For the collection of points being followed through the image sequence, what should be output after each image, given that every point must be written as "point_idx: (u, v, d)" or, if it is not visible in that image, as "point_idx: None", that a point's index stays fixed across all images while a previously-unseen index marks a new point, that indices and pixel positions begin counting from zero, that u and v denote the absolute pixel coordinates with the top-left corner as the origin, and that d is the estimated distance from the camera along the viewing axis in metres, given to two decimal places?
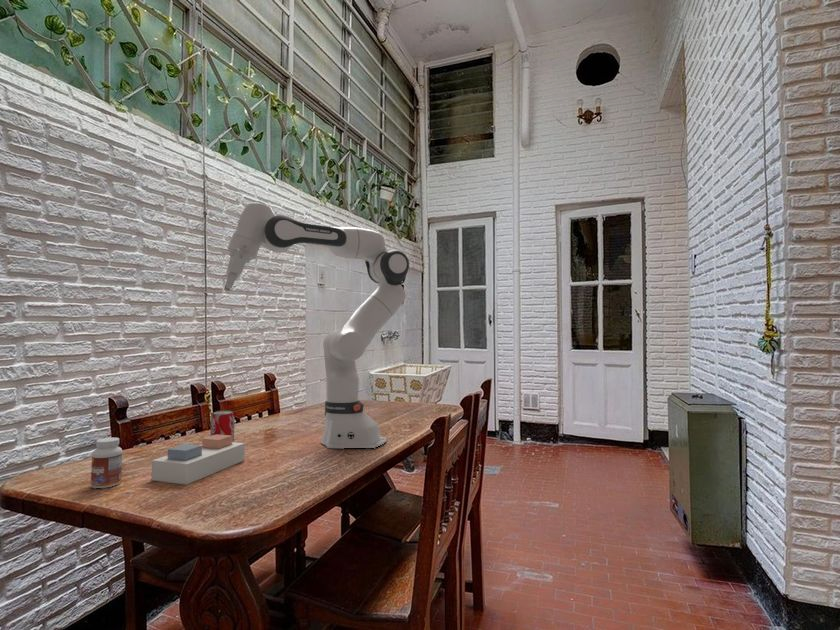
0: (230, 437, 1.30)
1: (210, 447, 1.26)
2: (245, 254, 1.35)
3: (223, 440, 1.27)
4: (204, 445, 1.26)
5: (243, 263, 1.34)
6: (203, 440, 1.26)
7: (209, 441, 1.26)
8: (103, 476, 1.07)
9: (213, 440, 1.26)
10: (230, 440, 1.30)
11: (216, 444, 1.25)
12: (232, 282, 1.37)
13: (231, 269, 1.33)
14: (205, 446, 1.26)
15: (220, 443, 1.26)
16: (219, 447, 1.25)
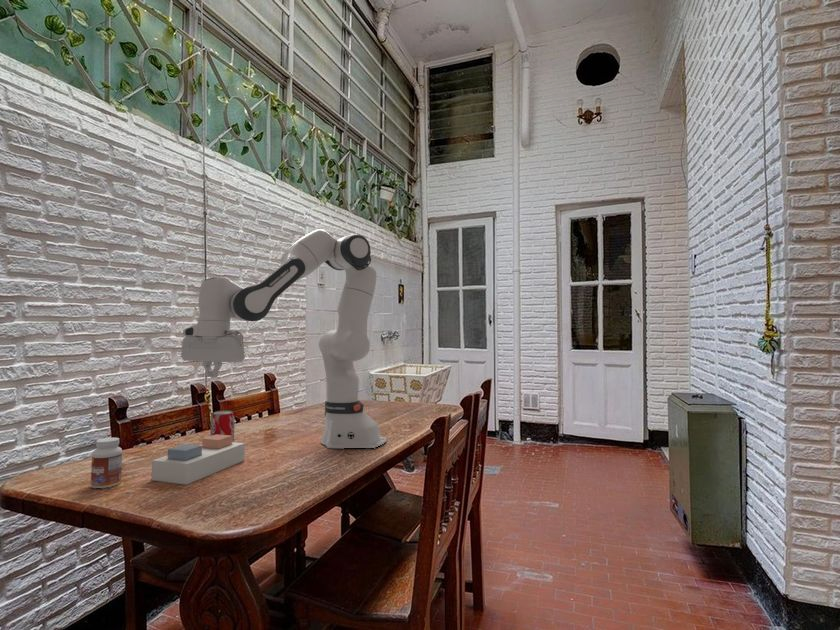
0: (230, 437, 1.30)
1: (210, 447, 1.26)
2: None
3: (223, 440, 1.27)
4: (204, 445, 1.26)
5: (243, 350, 1.32)
6: (203, 440, 1.26)
7: (209, 441, 1.26)
8: (103, 476, 1.07)
9: (213, 440, 1.26)
10: (230, 440, 1.30)
11: (216, 444, 1.25)
12: (218, 370, 1.33)
13: (237, 361, 1.29)
14: (205, 446, 1.26)
15: (220, 443, 1.26)
16: (219, 447, 1.25)
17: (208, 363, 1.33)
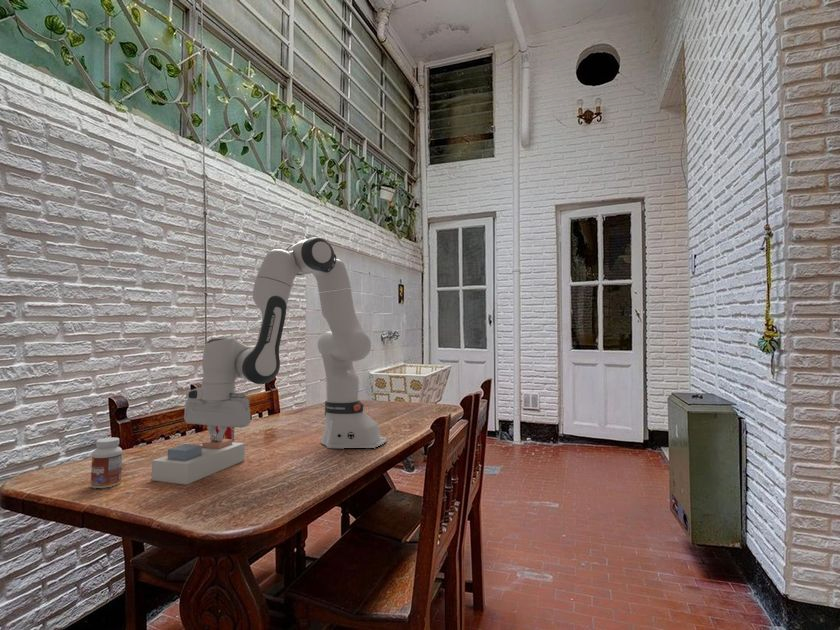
0: (230, 441, 1.30)
1: None
2: None
3: (223, 444, 1.27)
4: None
5: (249, 414, 1.27)
6: (203, 444, 1.26)
7: (209, 445, 1.26)
8: (103, 476, 1.07)
9: (212, 444, 1.26)
10: (230, 444, 1.30)
11: (216, 448, 1.25)
12: (222, 434, 1.28)
13: (243, 426, 1.25)
14: None
15: (220, 447, 1.26)
16: None
17: (212, 426, 1.28)
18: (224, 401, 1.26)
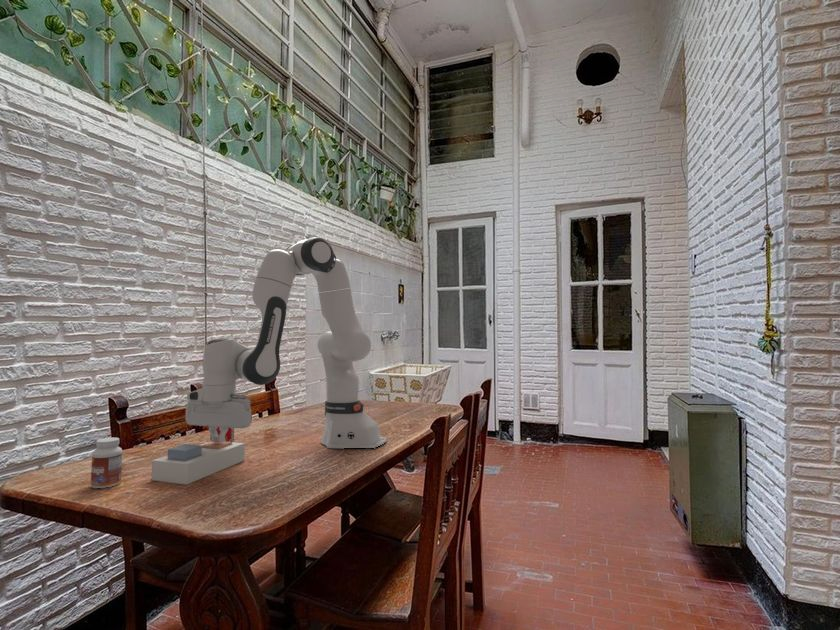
0: (230, 443, 1.30)
1: None
2: None
3: (223, 446, 1.27)
4: None
5: (250, 414, 1.27)
6: (203, 446, 1.26)
7: (209, 447, 1.26)
8: (103, 476, 1.07)
9: (212, 446, 1.26)
10: None
11: None
12: (224, 435, 1.29)
13: (244, 427, 1.25)
14: None
15: None
16: None
17: (214, 428, 1.29)
18: (225, 402, 1.26)
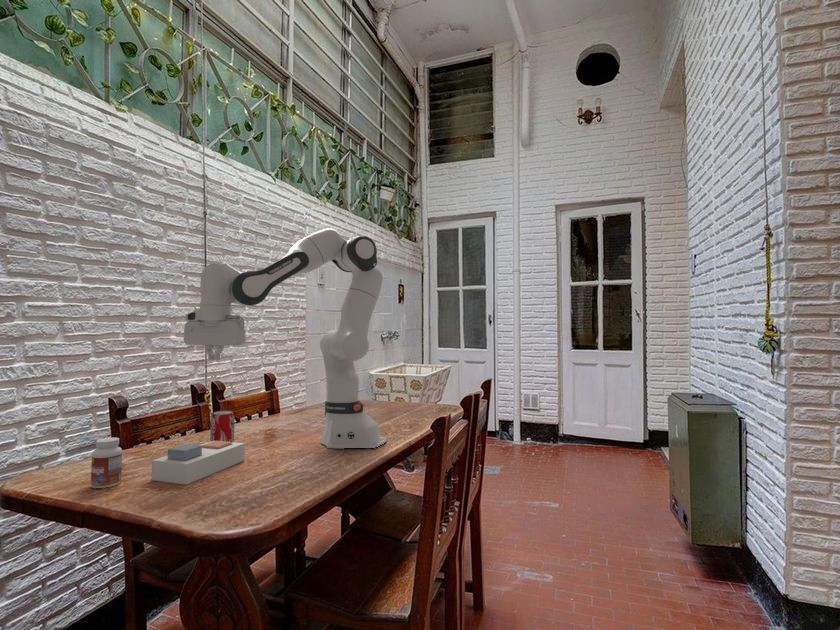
0: (230, 443, 1.30)
1: None
2: None
3: (223, 446, 1.27)
4: None
5: (244, 334, 1.36)
6: (203, 446, 1.26)
7: (209, 447, 1.26)
8: (103, 476, 1.07)
9: (212, 446, 1.26)
10: None
11: None
12: (219, 353, 1.37)
13: (238, 344, 1.33)
14: None
15: None
16: None
17: (210, 347, 1.37)
18: (221, 322, 1.35)
